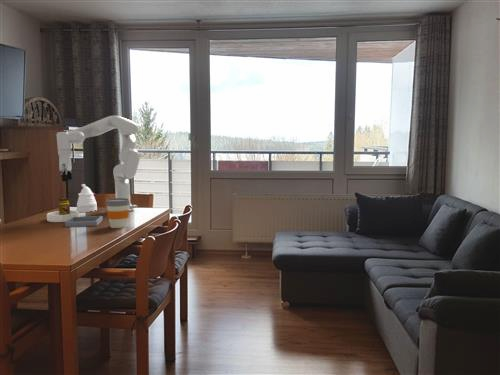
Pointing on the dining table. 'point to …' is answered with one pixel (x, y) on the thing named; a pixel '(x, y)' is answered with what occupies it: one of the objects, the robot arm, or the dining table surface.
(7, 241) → the dining table surface
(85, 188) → the honey pot
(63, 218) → the bowl
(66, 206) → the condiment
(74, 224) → the square frame
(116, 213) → the reusable coffee cup
